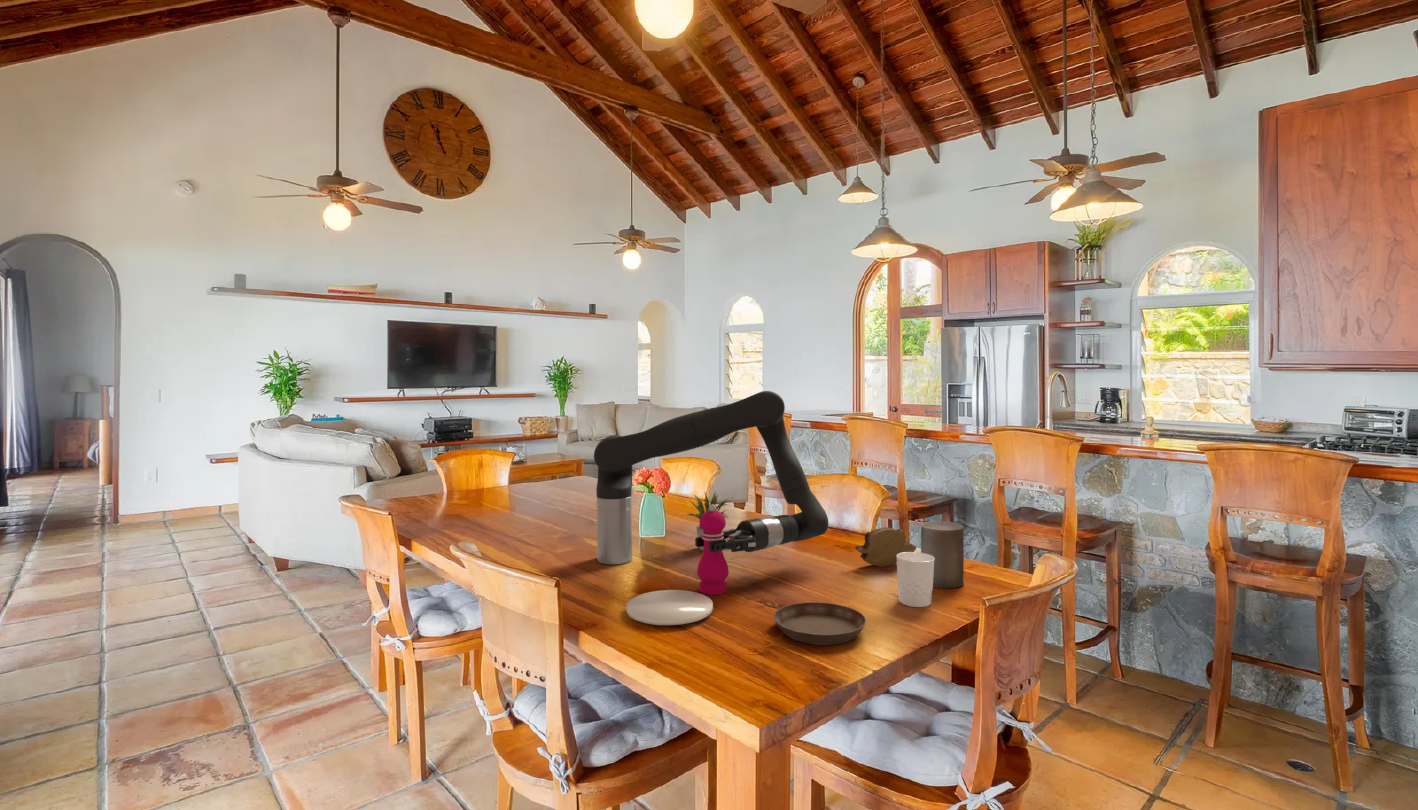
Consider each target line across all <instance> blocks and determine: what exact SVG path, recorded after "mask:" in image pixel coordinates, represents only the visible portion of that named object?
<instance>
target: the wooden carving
mask: <svg viewBox="0 0 1418 810" xmlns="http://www.w3.org/2000/svg"><path fill="white" fill-rule="evenodd" d="M905 535H906V534H905V532H904V531H903V530H902V529H900V528H898V529H895V528H892V527H879V528H876V529H873V530H871V531H867V532H866V533H865V535H864V541H865V542H864V544H863V545H862V544H861V545H860V544H859V545H856V546H855V550H857V552H858V553H861V554H860V556H859V557H860V558H861V559H862V560H863V561H864V562H866V563H867V564H869V565H873V566H876V567H880V568H886V567H885V566H887V567H891V566H894V565H897V557H896V556H897V554H899V553H903V552H916V550H917V546H916V545H914V544H912V543H911V542H909V541H906V536H905Z"/></svg>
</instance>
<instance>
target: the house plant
mask: <svg viewBox="0 0 1418 810" xmlns="http://www.w3.org/2000/svg"><path fill="white" fill-rule="evenodd" d="M703 491H704V490H703ZM718 496H719V495H718V494H716V491H715V492H714V493H713V495H712V497H711V500H709V498H708V495H707V493H706V491H704V498H703V501H704V503H703V502H702V500H701V499H700V498H699V497H698V496H697V495H695V494H694V498H695V500H696V504H695V503H694V502H693V501H691V500H688V501H689V502H690V503H691V504H692V505H693V506H694V507H695V508H696V510H697V511H698V513H695V514H694V513H688V514H687V516H690V517H692V516H693V517H695V518H698V520H700V517H701V516H702V514H704V513H705V512H707V511H709V506H710V505H711V504H714V505H715V506H716V504H717V502H718V501H717V499H718ZM733 498H734V497H729V498H726V499H724V500H722V501H721V502H720V503H719V504H718V505H717V506H716V511H718V512H720V510H721V508H722V507H724V506H727V505H729V502H730V501H731V500H730V499H733ZM709 501H710V502H709ZM727 511H729V510H727V509H725V510H723V511H721V512H720V513H722V514H723V515H724V517H725V519H728V520H730V518H729V517H728V516H730V515H727V514H726V513H725V512H727ZM695 529H696V535H697V536H696V537H701V536H702V532H703V530H702V529H701V527H700V524H698V525H696V526H695ZM698 549H700V551H703V550H704V546H703V547H698Z"/></svg>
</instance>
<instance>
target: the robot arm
mask: <svg viewBox="0 0 1418 810" xmlns="http://www.w3.org/2000/svg"><path fill="white" fill-rule="evenodd" d="M785 409H786V407H785V401H784V400H783V397H782V396H781V395H779V394H778V393H776V392H774V391H770V390H764V391H759V392H757V393H755V394H752V395H750V396H747V397H745V398H742V399H740V400H737V401H735V402H732V403H728V404H726V405H721V406H715V407H711V408H706V409H703V410H698V411H694V412H691V413H687V414H683V415H679V416H677V417H674V418H671V419H669V420H667V421H663V422H661V423H659V424H657V425H655V426H652V427H651V428H648V429H646V430H643V431H640V432H636V433H631V434H626V435H619V434H612V435H608V436H606V437H604V438H603V439H602V440H600V441H599V442H598V444H597V445H596V447H595V449H594V453H593V460H594V463H595V464H596V466H597V483H596V491H595V492H596V540H597V541H596V543H597V544H596V546H597V550H596V551H597V558H596V559H597V562H598V563H600V564H604V565H621V564H626V563H630V562H631V561H632V560H633V521H632V520H633V511H632V509H633V506H632V505H633V504H632V503H633V501H632V494H633V493H632V491H633V490H632V489H633V488H632V487H633V465H634V466H635V465H636V464H639V463H642V462H644V461H646V460H650V459H653V458H654V459H655V458H659V457H664V456H671V455H674V454H675V455H676V454H678V453H683V452H687V451H690V450H695V449H697V448H701V447H704V446H706V445H710V444H712V443H715V442H717V441H718V440H721V439H722V438H724V437H726V436H728V435H730V434H733V433H735V432H737V431H741V430H745V429H750V428H755V427H756V430H757V431H758V432H759V434H760V437H761V438H762V439H763V442H764V444H765V446H766V449H767V450H768V451H767V452H768V455H769V456H770V459H771V463H772V465H773V469H774V472H775V475H776V479H777V481H778V484H779V486H780V489H781V492H782V494H783V497H784V499H785V502H786V503H787V504H788V505H796V506H797V507H798V508H799V510H800V512H797V513H795V514H789V515H788V514H779V515H774V516H761V517H757V518H753V519H746V520H742V521H741V522H739V523H738V524H737V526H736V527H735V528H728V529H723V530H722V532H723V533H724V534H723V537H724V538H723V539H722V540H718V541H713V542H710V543H709V551H710V552H716V551H721V550H722V551H725V552H728V551H731V553H736V552H737V553H738V552H745V553H752V552H753V553H754V552H757V551H761V550H762V551H763V550H767V549H770V548H774V547H777V546H779V545H785V544H789V543H793V542H800V541H807V540H810V539H813V538H815V537H819V536H822V535H824V534H825V533H827V531H828V528H829V519H828V514H827V512H826V510H825V509H824V507H823V506H822V504H821V503H820V502H819V500H818V499H817V497H816V495H815V494H814V493H813V491H812V490H811V488H810V484H809V482H808V479H807V476H806V474H805V472H804V469H803V467H802V465H801V462H800V460H799V458H798V457H797V454H796V452H795V451H794V448H793V446H792V444H791V442H790V439H789V437H788V434H787V430H786V425H785V421H784V414H785ZM694 541H695V542H694V543H695V545H694V546H695V547H697V548H699V547H703V546H704V539H702V536H701V537H698V536H696V537H695V539H694Z"/></svg>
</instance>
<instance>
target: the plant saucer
mask: <svg viewBox="0 0 1418 810" xmlns="http://www.w3.org/2000/svg"><path fill="white" fill-rule="evenodd" d="M773 620H774V622H775V623H776V625H777V626H778V628H779V629H780V630H781V631H782V632H783V634H785V635H786V636H787V637H789V639H793V640H794V641H797V642H800V643H804V644H810V645H818V646H829V645H830V646H832V645H839V644H844V643H848V642H850V641H852V640H853V639H855V638H856V637H857V636H858V635H859V634H860V633H861V631H862V630H863V629H864V628H865V625H866V624H867V618H866V617H865V614H863V613H861V612H860V611H858V610H856V609H854V608H851V607H849V606H848V607H847V606H846V605H841V604H835V603H830V602H812V601H811V602H808V601H807V602H799V603H793V604H788V605H785V606H783V607H780V608H778V609H777V610H775V612H774V614H773Z"/></svg>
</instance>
